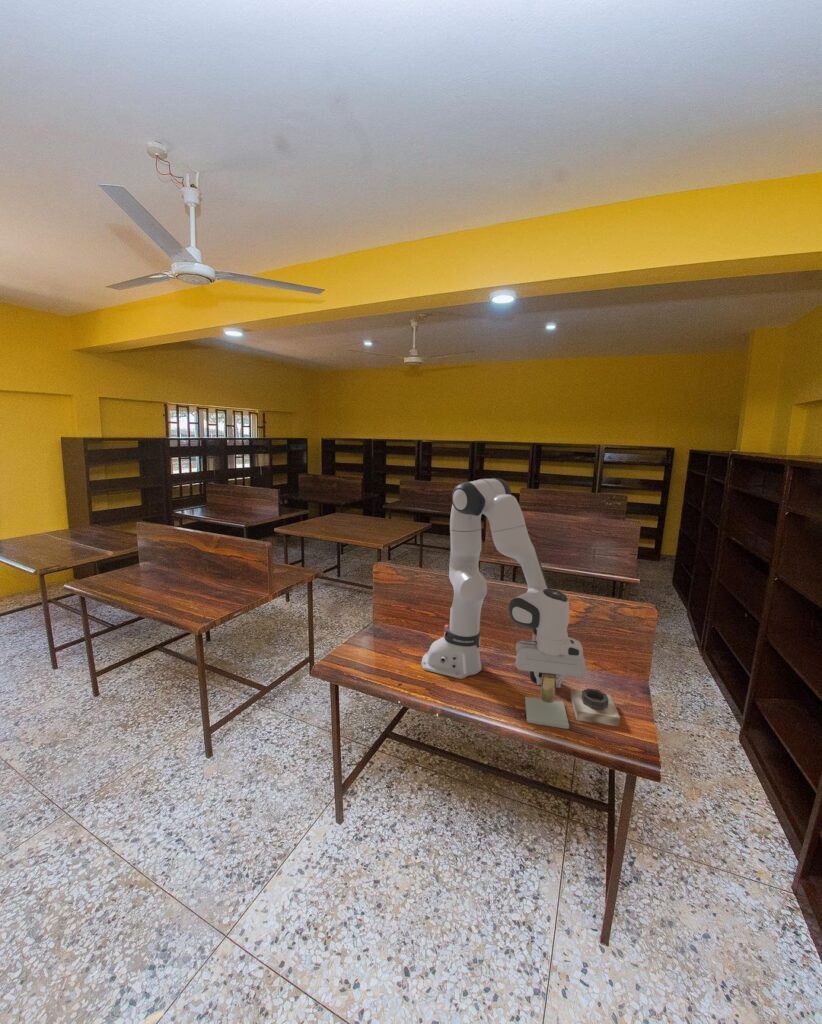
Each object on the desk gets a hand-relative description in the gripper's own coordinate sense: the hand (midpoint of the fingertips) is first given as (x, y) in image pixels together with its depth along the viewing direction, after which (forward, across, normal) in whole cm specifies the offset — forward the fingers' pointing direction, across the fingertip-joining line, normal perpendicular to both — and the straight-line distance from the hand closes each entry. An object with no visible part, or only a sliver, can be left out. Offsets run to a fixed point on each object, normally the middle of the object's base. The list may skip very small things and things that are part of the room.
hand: (548, 685), depth 129 cm
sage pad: (+10, 0, 0) cm, 10 cm away
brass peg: (+5, 0, 0) cm, 5 cm away
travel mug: (+10, 0, +20) cm, 23 cm away
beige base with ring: (+10, +15, +5) cm, 19 cm away
